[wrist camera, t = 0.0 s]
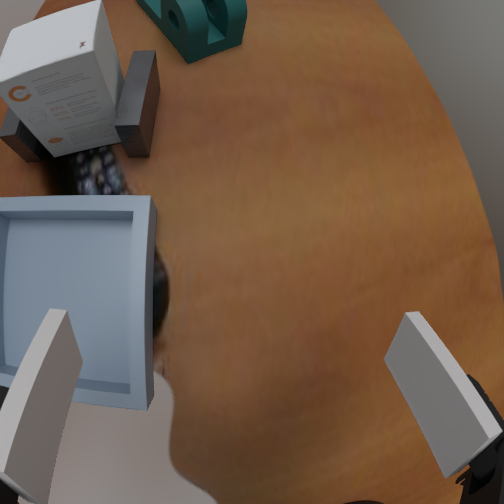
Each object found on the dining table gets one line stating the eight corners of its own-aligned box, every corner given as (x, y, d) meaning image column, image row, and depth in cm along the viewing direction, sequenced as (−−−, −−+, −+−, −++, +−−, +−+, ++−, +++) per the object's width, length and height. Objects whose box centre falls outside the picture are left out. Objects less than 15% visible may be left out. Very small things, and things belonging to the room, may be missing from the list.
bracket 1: (149, 157, 27) (138, 124, 22) (26, 162, 25) (-2, 136, 20) (160, 88, 29) (155, 50, 23) (45, 97, 27) (25, 66, 21)
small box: (128, 90, 28) (104, -4, 15) (129, 142, 27) (94, 50, 15) (57, 107, 27) (9, 28, 14) (53, 159, 26) (-12, 87, 13)
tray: (154, 395, 25) (147, 410, 21) (2, 372, 22) (-19, 380, 18) (157, 210, 27) (150, 195, 23) (8, 209, 24) (-13, 198, 21)
